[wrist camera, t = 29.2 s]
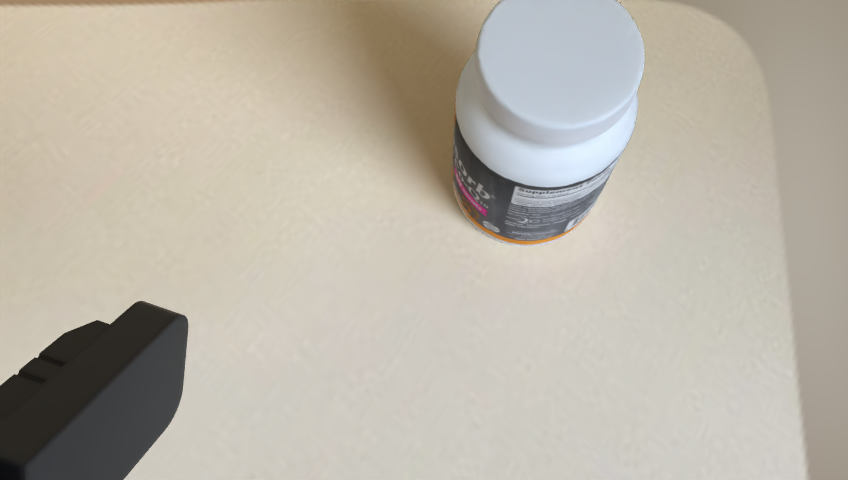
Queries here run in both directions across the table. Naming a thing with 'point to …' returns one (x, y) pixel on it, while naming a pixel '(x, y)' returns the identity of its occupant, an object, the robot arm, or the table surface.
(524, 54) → the pill bottle
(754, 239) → the table surface
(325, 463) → the table surface
